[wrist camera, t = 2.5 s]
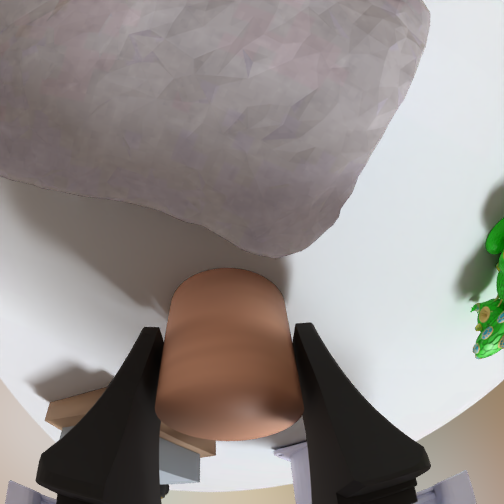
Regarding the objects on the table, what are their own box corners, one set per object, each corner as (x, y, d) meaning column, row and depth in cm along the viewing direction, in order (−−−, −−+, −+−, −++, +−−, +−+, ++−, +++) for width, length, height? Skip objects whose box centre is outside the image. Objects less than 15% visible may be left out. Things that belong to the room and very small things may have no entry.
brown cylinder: (302, 322, 14) (324, 419, 10) (213, 358, 15) (212, 447, 11) (248, 247, 11) (258, 361, 7) (147, 298, 13) (124, 401, 9)
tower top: (199, 454, 20) (199, 482, 18) (134, 461, 22) (132, 484, 20) (119, 417, 16) (113, 451, 14) (62, 427, 18) (56, 453, 16)
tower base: (215, 428, 22) (215, 455, 20) (134, 442, 25) (132, 463, 23) (124, 373, 17) (117, 407, 15) (51, 395, 20) (44, 420, 18)
